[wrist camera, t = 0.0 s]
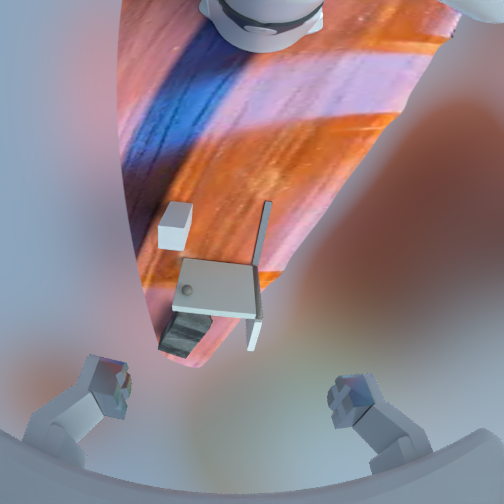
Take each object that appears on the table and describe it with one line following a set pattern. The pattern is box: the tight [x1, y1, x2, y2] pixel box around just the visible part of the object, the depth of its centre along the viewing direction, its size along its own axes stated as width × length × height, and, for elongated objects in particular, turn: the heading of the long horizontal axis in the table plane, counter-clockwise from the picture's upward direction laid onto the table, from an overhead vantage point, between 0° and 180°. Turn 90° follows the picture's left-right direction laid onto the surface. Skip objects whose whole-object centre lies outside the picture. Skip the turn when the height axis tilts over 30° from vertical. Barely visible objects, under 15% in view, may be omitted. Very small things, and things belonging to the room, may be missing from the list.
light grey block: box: [158, 201, 193, 251], centre depth 44 cm, size 4×4×9 cm
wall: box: [246, 201, 272, 351], centre depth 48 cm, size 23×1×14 cm, turn 170°
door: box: [172, 258, 263, 319], centre depth 48 cm, size 15×5×13 cm, turn 80°
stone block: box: [158, 311, 213, 359], centre depth 62 cm, size 9×14×5 cm, turn 147°
